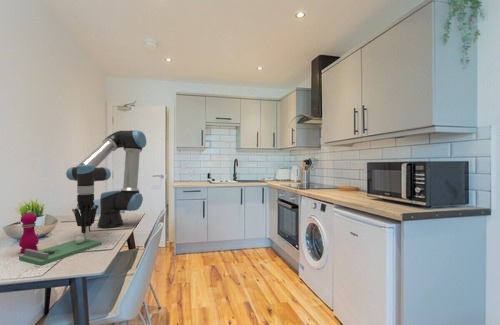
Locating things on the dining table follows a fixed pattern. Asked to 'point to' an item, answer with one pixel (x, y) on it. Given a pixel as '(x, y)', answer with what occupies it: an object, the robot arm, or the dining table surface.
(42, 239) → the dining table surface
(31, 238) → the pepper mill
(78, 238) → the ball
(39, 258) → the putting mat
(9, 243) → the dining table surface
